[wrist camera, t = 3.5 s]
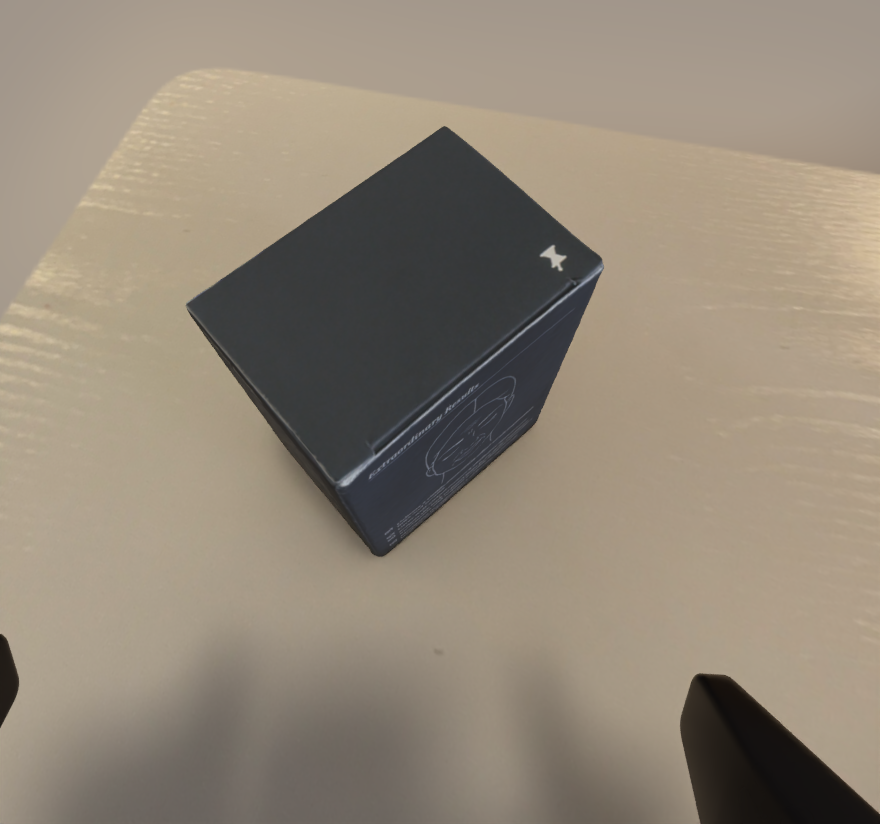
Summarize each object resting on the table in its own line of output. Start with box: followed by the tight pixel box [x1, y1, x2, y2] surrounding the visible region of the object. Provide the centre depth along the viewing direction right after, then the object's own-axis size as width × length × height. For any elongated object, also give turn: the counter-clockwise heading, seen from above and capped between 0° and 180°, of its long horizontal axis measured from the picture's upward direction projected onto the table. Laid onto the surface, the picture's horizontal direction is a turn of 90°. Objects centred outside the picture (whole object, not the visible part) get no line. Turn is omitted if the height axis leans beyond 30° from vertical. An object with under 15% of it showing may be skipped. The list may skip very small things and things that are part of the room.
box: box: [186, 126, 604, 556], centre depth 19 cm, size 8×6×11 cm
